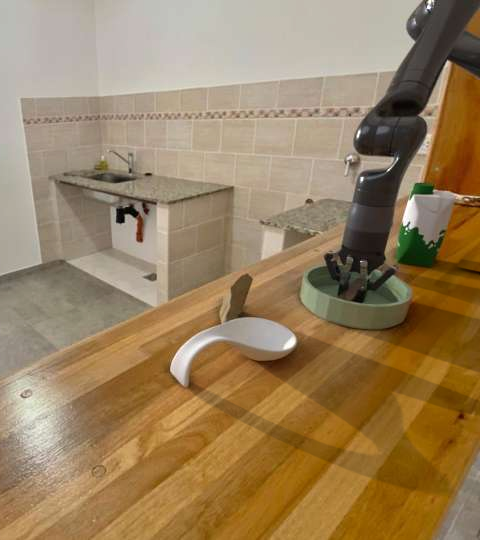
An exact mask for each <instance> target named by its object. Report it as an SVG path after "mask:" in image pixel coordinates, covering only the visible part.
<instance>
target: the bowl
mask: <svg viewBox="0 0 480 540" xmlns="http://www.w3.org/2000/svg"><path fill="white" fill-rule="evenodd" d="M338 266H339V269H340V272H341V274H342V272H343V269H344V265H343V264H342V263H338ZM382 275H383V274H382V273H381V270H380V269H375V270H374V271H372V275H371V279H370V282H375V281H376V280H377V279H378V278H379V277H380V276H382ZM357 278H360V274H359V273H357V272H352V275H351V277H350V280H349V281H348V283H349V286H350V285H351V284H352V283H353V282H354V281H355V280H356V279H357ZM301 282H302V283H301V287H300V294H299V298H300V301H301V303H302V305H304V306H305V308H306V309H307V310H308V311H309V312H311V313H312V314H314V315H315V316H316V317H318V318H320V319H322V320H325V321H327V322H330V323H333V324H334V325H335V324H336V325H338V326H339V325H340V326H342V327H346V328H352V329H359V330H370V331H371V330H386V329H390V328H393V327H395V326H398V325H400V324H402V323H403V322H404V321H405V319H406V318H407V315H408V312H409V308H410V306H411V303H412V299H413V296H414V294H413V289H412V288H411V287H410V286H409V284H408V283H407V282H405V281H404V280H403V279H401V278H399V277H398V276H395V275H392V276H391V277H390V278H389V279H388V280H387V281H386V282H385V283H383V284H382V285H381V286H380V287H379V288H378V289H377V290H375V291H372V290H368V291H367V295H366V299H365V301H364V302H363V303H356V302H351V301H346V300H342V299H339V298H337V297H338V295H337V293H338V289H339V282H338V281H336V280H333V279H331V276H330V273H329V270H328V267H327V264H326V263H325V264H319V265H315V266H312V267H310V268H308V269H307V270H305V271H304V273H303V276H302V281H301Z"/></svg>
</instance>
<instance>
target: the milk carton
mask: <svg viewBox="0 0 480 540" xmlns="http://www.w3.org/2000/svg"><path fill="white" fill-rule="evenodd" d="M412 187H413V188H412V189H411V191H410V194H409V197H408V200H407V204H406V206H405V210H404V213H403V217H402V221H401V225H400V229H399V233H398V235H397V240H396V241H397V242H396V243H397V244H396V261H397V262H396V263H398V264H405V265H412V266H418V265H419V267H425V268H426V267H427V268H432V267H433V265H434V262H435V260H436V258H437V256H438V254H439V252H440V250H441V247H442V245H443V242H444V238H445V236H446V232H447V229H448V225H449V222H450V220H451V217H452V213H453V209H454V204H455V202H456V201H455V200H456V198H455V196H454V194H453V193H452V192H451V191H449V190H438V189H434V188H435V184H434V183H431V182H414V184H413V186H412Z"/></svg>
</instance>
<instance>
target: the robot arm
mask: <svg viewBox="0 0 480 540" xmlns="http://www.w3.org/2000/svg"><path fill="white" fill-rule="evenodd" d="M479 10H480V0H422V1H421V2H420V3H419V4H418V5H417V6H416V8H415V9H414V10H412V11H413V12H412V13H410V15H409V16H408V18H407V20H406V22H405V30H406V33H407V35H408V36H409V37H410V38H411V40H413V41H414V43H413V45H412V46H411V48H410V49H409V51H408V52H407V54H406V55H405V57H404V59H403V60H402V61H401V62H400V64H399V66H398V68H397V69H396V71H395V72H394V74H393V76H392V78H391V80H390V82H389V84H388V86H387V88H386V91H385V93H384V95H383V97H381V99H380V100H379V101H378V102H377V103H376V104H375V105H374V107H373V108H372V109H371V110H370V111H369V112H368V113H367V114H366V115H365V116H364V117H363V119H361V121H360V122H359V124H358V125H357V127H356V129H355V131H354V134H353V138H352V145H353V149H354V150H355V152H356V153H357V154H358V155H361V156H364V157H377V158H393V159H392V162H391V163H390V164H389V165H388V166H385V167H378V168H370V169H364V170H362V171H360V173H358V175H357V178H356V182H355V186H354V190H353V195H352V200H351V204H350V207H349V209H348V212H347V217H346V223H345V227H344V232H343V235H342V241H341V246H340V247H339V248H338V249H337V250H335V251H334V250H329V251H327V252H325V254H323V258H324V261H325V264H327V267H328V270H329V273H330V276H331V279H333V280H336V281H338V282H339V289H338V293H337V295H338V296H339V295H340V294H342V293H343V292H344V291H345V290H346V289H347V288H348V287H349V283H348V281H349V280H350V277H351V275H352V272H357V273H359V274H360V287H359V289H358V290H357V296H356V300H355V302H356V303H363V302H364V301H365V299H366V295H367V291H368V290H372V291H375V290H377V289H378V288H379V287H380V286H381V285H382V284H383V283H385V282H386V281H387V280H388V279H389V278H390V277H391V276H392V275H393V276H395V274H396V272H398V270H399V267H398V265H395V264H393V265H392V264H391V263H389V262H388V261H387V257H386V254H385V252H386V248H387V244H388V241H389V238H390V233H391V230H392V227H393V224H394V219H395V209H396V203H397V199H398V196H399V193H400V189H401V186H402V182H403V180H404V177H405V175H406V172H407V171H408V169H409V166H410V165H411V163H412V162H413V160H414V158H415V157H416V155H417V154H418V152H419V151H420V149H421V147H423V144H424V142H425V140H426V138H427V136H428V131H429V127H428V123H427V121H426V119H425V118H424V117H422V116H420V115H421V114H422V113H423V112H424V111H425V109H426V108H427V107H428V104H429V102H430V99H431V97H432V95H433V92H434V90H435V89H436V86H437V83H438V82H439V79H440V77H441V75H442V72H443V70H444V69H445V66H446V64H447V62H450V63H451V64H454V65H455V66H457V67H459V68H461V70H462V69H463V70H464V71H465V72H467V73H468V74H470V75H472V76H473V77H475V78H476V79H478V80H479V81H480V36H479V35H478V34H475V33H473V32H470V30H468V29H467V27H468V25H469V24H470V22H471V21H472V20H473V18H474V17H475V16H476V14H477V13H478V12H479ZM338 260H340V261H341V264H343V265H344V269H343V272H342V274H341V272H340V269H339V266H338V264H339V263H338ZM380 267H381V270H380V271H381V273H382V274H383V275H382V276H380V277H379V278H378V279H377V280H376V281H375V282H370V279H371V275H372V271H374V270H375V269H376V270H378V268H380Z"/></svg>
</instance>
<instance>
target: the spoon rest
mask: <svg viewBox="0 0 480 540" xmlns="http://www.w3.org/2000/svg"><path fill="white" fill-rule="evenodd" d="M221 343H222V344H227V345H228V346H230V347H231V348H233V349H234V350H236V351H237V352H239V353H240V354H241V355H243V356H244V357H246V358H247V359H249V360H253V361H258V362H267V361H275V360H279V359H282V358H284V357H286V356H288V355H289V354H290V353H292V352H293V351H294V350H295V349H296V347H297V346H298V338H297V336H296V335H295V333H294V332H293V331H292V330H291V329H289V328H288V327H286V326H284V325H283V324H281V323H279V322H276V321H274V320H271V319H267V318H262V317H255V316H253V317H252V316H248V317H247V316H246V317H239V318H238V319H234V320H231V321H228V322H226V323H223V324H218V325H215V326H213V327H209V328H208V329H204V330H202V331H200V332H198V333H197V334H194V335H193V336H191V338H189V339H188V340H187V341H186V342H185V343H184V344H182V346H181V347H180V348H179V349H178V351H177V352H176V354H175V355H174V357H173V358H172V361H171V364H170V373H171V375H173V377H174V378H175V379H176V380H177V382H179V384H180V385H181V386H183V387H184V388H188V387H189V384H190V372H191V369H192V365H193V363H194V361H195V360H196V358H197V357H198V355H199V354H201V353H202V352H204V350H206V349H207V348H209V347H211V346H213V345H215V344H221Z"/></svg>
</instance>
